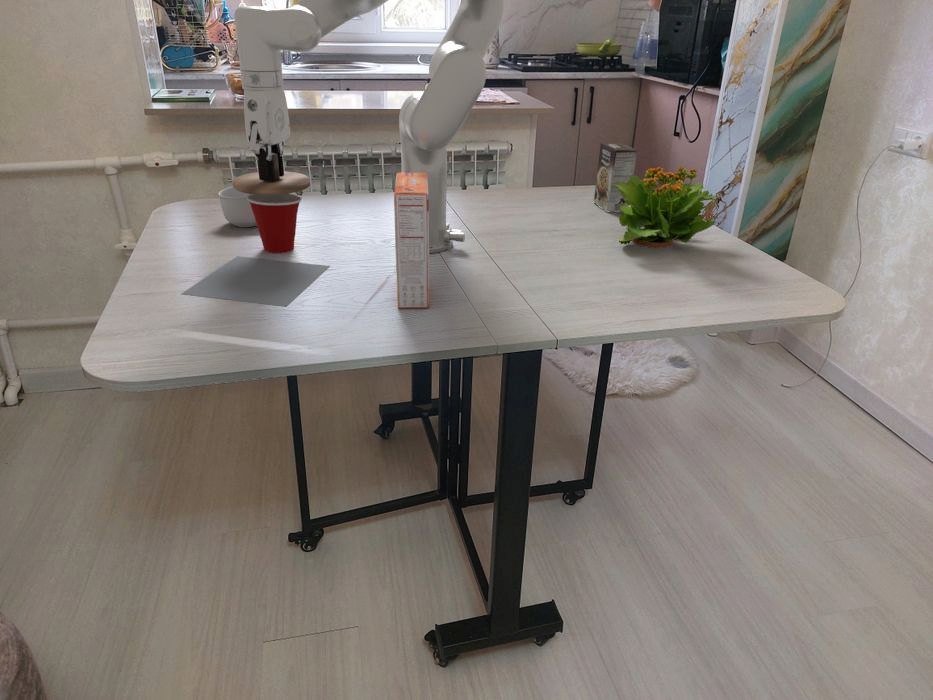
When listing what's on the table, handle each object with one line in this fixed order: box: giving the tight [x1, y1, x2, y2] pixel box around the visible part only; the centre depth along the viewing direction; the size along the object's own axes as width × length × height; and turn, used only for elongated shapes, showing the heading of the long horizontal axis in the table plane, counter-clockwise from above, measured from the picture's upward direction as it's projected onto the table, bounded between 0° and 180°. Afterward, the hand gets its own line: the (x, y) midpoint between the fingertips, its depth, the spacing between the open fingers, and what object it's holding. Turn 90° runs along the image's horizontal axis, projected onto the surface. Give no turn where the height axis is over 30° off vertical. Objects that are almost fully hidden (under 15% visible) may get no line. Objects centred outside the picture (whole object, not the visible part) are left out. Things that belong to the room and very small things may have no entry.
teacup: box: [218, 186, 257, 228], centre depth 158 cm, size 14×11×8 cm
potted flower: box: [611, 166, 717, 249], centre depth 152 cm, size 25×24×18 cm
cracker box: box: [393, 171, 430, 309], centre depth 120 cm, size 14×6×21 cm, turn 3°
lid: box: [232, 153, 311, 195], centre depth 134 cm, size 15×15×6 cm
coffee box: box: [593, 142, 638, 212], centre depth 176 cm, size 9×6×16 cm
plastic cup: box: [247, 193, 303, 254], centre depth 140 cm, size 11×11×12 cm
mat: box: [181, 255, 331, 307], centre depth 127 cm, size 20×20×1 cm
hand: (271, 177), depth 135 cm, fingers closed on lid, 3 cm apart
